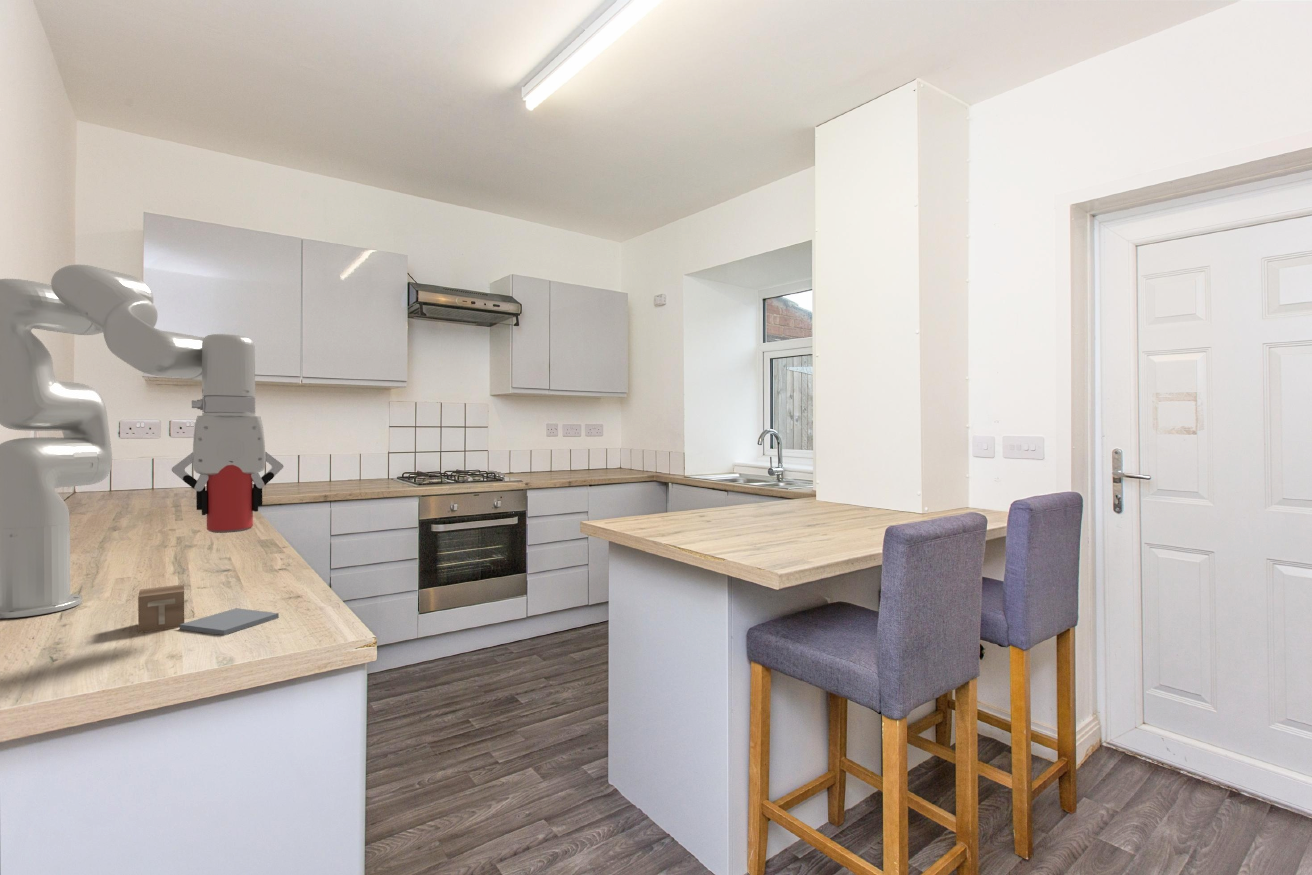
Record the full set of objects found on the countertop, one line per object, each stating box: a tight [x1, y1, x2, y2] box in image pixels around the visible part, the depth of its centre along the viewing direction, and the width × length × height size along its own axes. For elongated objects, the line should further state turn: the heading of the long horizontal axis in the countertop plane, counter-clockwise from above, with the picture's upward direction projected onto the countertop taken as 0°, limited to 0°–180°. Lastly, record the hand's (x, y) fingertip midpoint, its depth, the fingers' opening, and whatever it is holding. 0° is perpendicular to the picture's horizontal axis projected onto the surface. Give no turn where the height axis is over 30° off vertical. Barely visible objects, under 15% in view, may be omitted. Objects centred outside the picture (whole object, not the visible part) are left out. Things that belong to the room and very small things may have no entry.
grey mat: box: [179, 607, 279, 636], centre depth 108 cm, size 10×10×1 cm
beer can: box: [205, 461, 254, 534], centre depth 107 cm, size 7×7×12 cm
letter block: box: [137, 583, 185, 634], centre depth 107 cm, size 6×6×6 cm
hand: (230, 511), depth 107 cm, fingers closed on beer can, 6 cm apart
